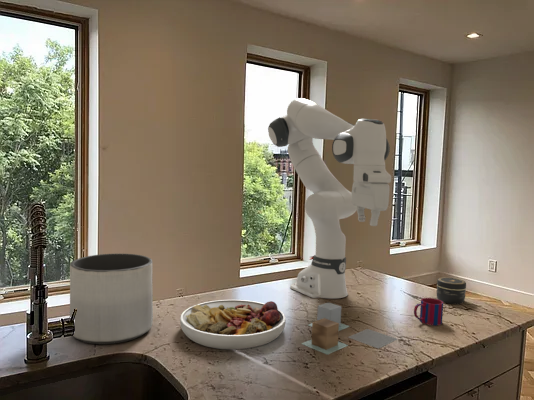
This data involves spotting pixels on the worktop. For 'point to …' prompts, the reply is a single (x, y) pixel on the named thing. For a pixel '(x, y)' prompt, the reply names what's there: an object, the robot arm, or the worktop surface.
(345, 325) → the code tile
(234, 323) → the bowl
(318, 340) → the walnut block
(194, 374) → the worktop surface
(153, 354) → the worktop surface
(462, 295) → the jar
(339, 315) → the blue-grey block
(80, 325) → the planter
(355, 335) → the slate coaster
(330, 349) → the code tile
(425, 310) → the mug
